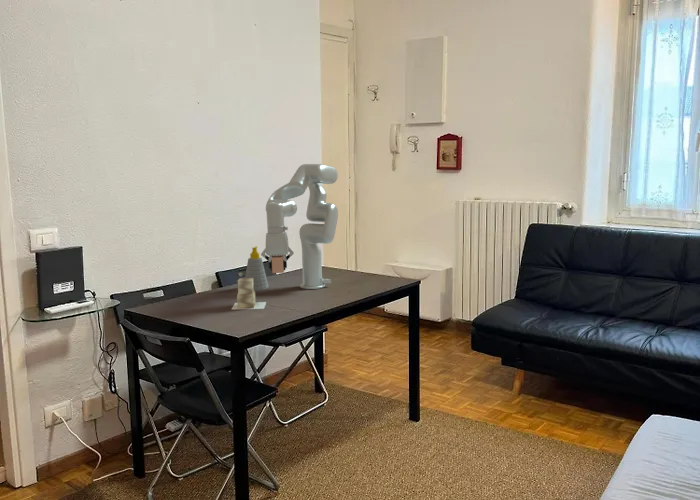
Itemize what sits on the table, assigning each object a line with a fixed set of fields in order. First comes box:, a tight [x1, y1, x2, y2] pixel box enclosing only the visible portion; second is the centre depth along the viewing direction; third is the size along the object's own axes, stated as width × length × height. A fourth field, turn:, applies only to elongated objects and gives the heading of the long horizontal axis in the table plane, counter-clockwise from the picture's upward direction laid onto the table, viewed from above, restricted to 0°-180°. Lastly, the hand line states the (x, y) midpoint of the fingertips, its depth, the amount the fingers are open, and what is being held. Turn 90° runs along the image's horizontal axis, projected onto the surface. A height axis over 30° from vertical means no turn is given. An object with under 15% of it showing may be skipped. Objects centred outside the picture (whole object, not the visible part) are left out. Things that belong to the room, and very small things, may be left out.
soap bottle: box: [244, 246, 269, 292], centre depth 317 cm, size 12×12×20 cm
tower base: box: [236, 291, 257, 308], centre depth 279 cm, size 7×7×6 cm
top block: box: [271, 255, 285, 274], centre depth 288 cm, size 5×5×7 cm
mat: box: [231, 301, 267, 311], centre depth 281 cm, size 14×12×1 cm
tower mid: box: [237, 277, 254, 295], centre depth 279 cm, size 6×6×6 cm
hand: (278, 269), depth 289 cm, fingers closed on top block, 5 cm apart
